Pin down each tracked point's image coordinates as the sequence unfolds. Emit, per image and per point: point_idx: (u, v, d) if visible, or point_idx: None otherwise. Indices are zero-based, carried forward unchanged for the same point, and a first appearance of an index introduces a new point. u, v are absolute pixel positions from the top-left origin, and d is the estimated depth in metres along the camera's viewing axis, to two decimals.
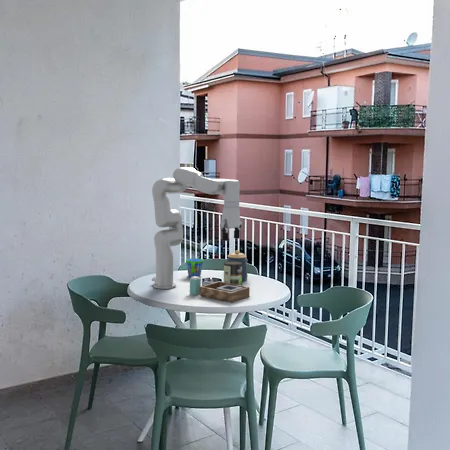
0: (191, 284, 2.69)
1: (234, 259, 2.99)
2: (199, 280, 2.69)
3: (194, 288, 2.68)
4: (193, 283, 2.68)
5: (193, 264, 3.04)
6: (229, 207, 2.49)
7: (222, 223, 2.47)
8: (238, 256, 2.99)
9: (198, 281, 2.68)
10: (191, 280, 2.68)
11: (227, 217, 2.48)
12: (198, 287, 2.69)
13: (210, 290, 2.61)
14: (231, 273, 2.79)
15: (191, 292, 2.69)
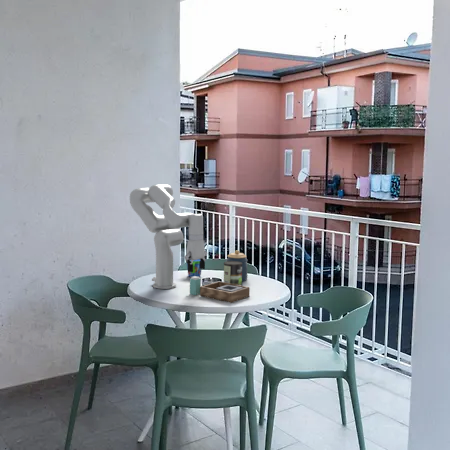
0: (191, 284, 2.69)
1: (234, 259, 2.99)
2: (199, 280, 2.69)
3: (194, 288, 2.68)
4: (193, 283, 2.68)
5: (193, 264, 3.04)
6: (193, 240, 2.63)
7: (186, 255, 2.61)
8: (238, 256, 2.99)
9: (198, 281, 2.68)
10: (191, 280, 2.68)
11: (191, 249, 2.63)
12: (198, 287, 2.69)
13: (210, 290, 2.61)
14: (231, 273, 2.79)
15: (191, 292, 2.69)
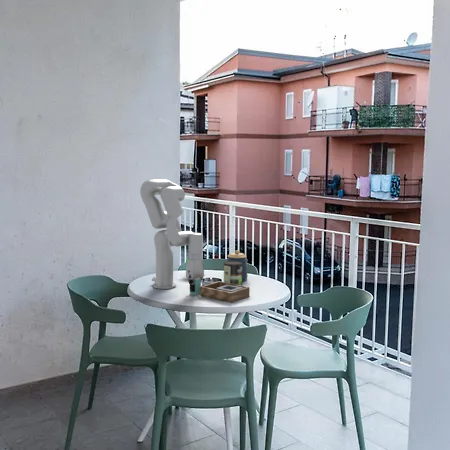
0: None
1: (234, 259, 2.99)
2: (199, 280, 2.69)
3: None
4: None
5: None
6: (193, 259, 2.64)
7: (187, 278, 2.64)
8: (238, 256, 2.99)
9: (198, 281, 2.68)
10: None
11: (191, 269, 2.64)
12: (198, 287, 2.69)
13: (210, 290, 2.61)
14: (231, 273, 2.79)
15: (191, 292, 2.69)
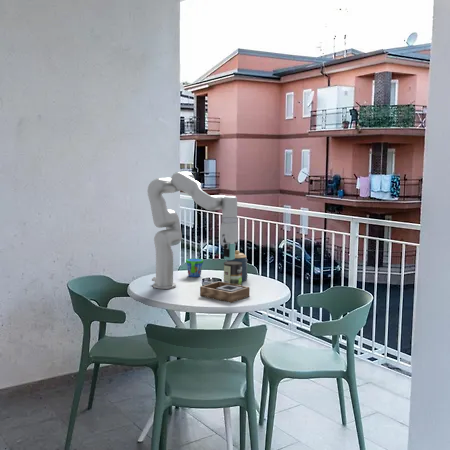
0: None
1: (234, 259, 2.99)
2: (233, 245, 2.61)
3: None
4: None
5: (193, 264, 3.04)
6: (227, 222, 2.56)
7: (222, 242, 2.55)
8: (238, 256, 2.99)
9: (232, 246, 2.60)
10: None
11: (225, 232, 2.56)
12: (232, 252, 2.61)
13: (210, 290, 2.61)
14: (231, 273, 2.79)
15: (225, 257, 2.61)
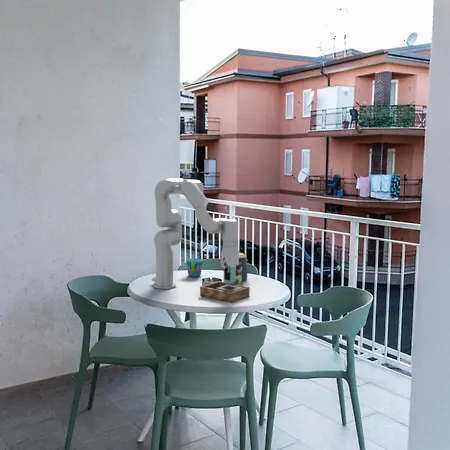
0: None
1: None
2: (234, 268, 2.62)
3: None
4: None
5: (193, 264, 3.04)
6: (228, 246, 2.58)
7: (223, 265, 2.57)
8: None
9: (233, 269, 2.61)
10: None
11: (226, 256, 2.57)
12: (233, 275, 2.62)
13: (210, 290, 2.61)
14: None
15: (226, 280, 2.62)
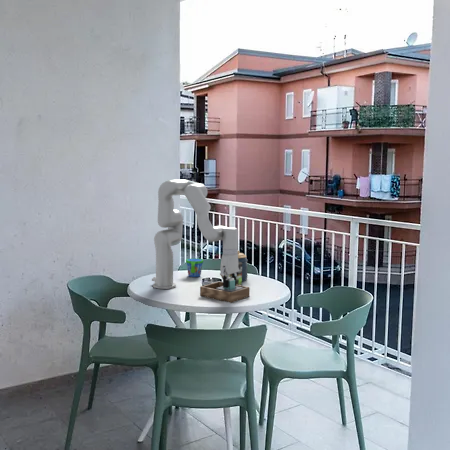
0: None
1: None
2: (233, 281, 2.63)
3: None
4: None
5: (193, 264, 3.04)
6: (228, 254, 2.58)
7: (222, 272, 2.57)
8: (238, 256, 2.99)
9: (232, 282, 2.62)
10: None
11: (226, 264, 2.58)
12: (232, 288, 2.63)
13: (210, 290, 2.61)
14: None
15: None
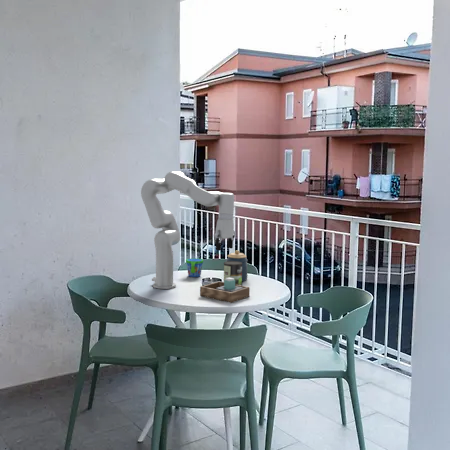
0: (225, 285, 2.63)
1: (234, 259, 2.99)
2: (234, 281, 2.63)
3: (229, 289, 2.62)
4: (228, 284, 2.62)
5: (193, 264, 3.04)
6: (223, 219, 2.63)
7: (216, 234, 2.61)
8: (238, 256, 2.99)
9: (233, 282, 2.62)
10: (225, 281, 2.62)
11: (221, 228, 2.62)
12: (233, 288, 2.63)
13: (210, 290, 2.61)
14: (231, 273, 2.79)
15: None
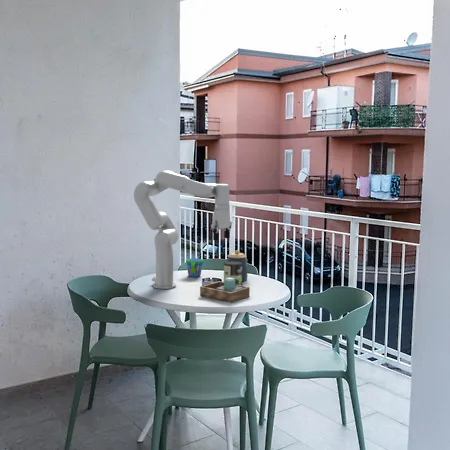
0: (225, 285, 2.63)
1: (234, 259, 2.99)
2: (234, 281, 2.63)
3: (229, 289, 2.62)
4: (228, 284, 2.62)
5: (193, 264, 3.04)
6: (219, 209, 2.68)
7: (213, 224, 2.65)
8: (238, 256, 2.99)
9: (233, 282, 2.62)
10: (225, 281, 2.62)
11: (218, 218, 2.67)
12: (233, 288, 2.63)
13: (210, 290, 2.61)
14: (231, 273, 2.79)
15: None
